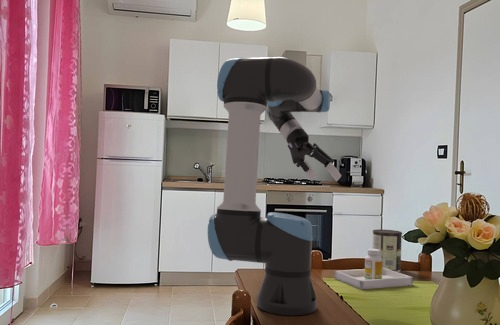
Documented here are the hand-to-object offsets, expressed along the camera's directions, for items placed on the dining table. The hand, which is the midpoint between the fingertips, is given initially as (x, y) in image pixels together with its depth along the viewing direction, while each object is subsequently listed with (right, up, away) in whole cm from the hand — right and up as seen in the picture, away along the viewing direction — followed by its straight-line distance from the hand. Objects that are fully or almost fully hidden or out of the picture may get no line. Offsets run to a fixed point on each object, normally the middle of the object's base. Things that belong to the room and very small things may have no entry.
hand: (326, 178), depth 153 cm
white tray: (+14, -33, -7) cm, 36 cm away
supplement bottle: (+14, -33, -7) cm, 36 cm away
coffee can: (+24, -34, +13) cm, 43 cm away
